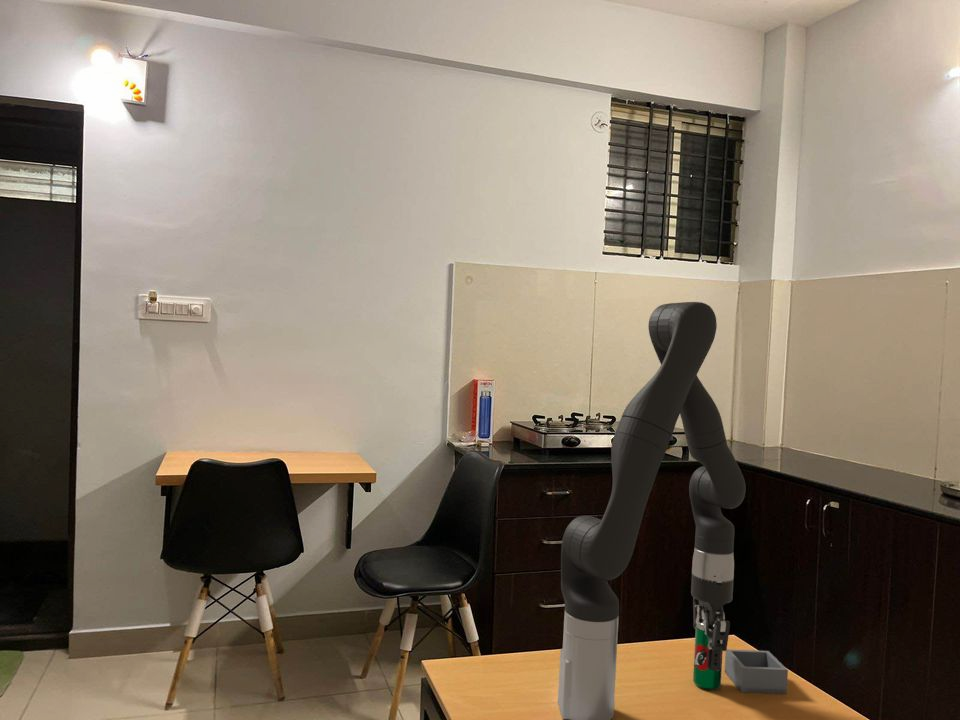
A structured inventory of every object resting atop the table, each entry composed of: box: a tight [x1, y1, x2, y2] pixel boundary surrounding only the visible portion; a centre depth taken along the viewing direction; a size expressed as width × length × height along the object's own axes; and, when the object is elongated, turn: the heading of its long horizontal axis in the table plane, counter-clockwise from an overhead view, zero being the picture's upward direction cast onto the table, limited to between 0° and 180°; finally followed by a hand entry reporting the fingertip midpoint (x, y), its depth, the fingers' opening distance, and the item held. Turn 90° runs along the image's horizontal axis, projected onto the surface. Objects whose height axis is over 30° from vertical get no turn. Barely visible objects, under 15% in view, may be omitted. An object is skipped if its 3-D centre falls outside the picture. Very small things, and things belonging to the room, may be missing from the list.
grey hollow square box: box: [724, 648, 789, 695], centre depth 140 cm, size 9×9×4 cm
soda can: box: [692, 619, 724, 691], centre depth 137 cm, size 5×5×12 cm
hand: (708, 662), depth 137 cm, fingers closed on soda can, 5 cm apart
